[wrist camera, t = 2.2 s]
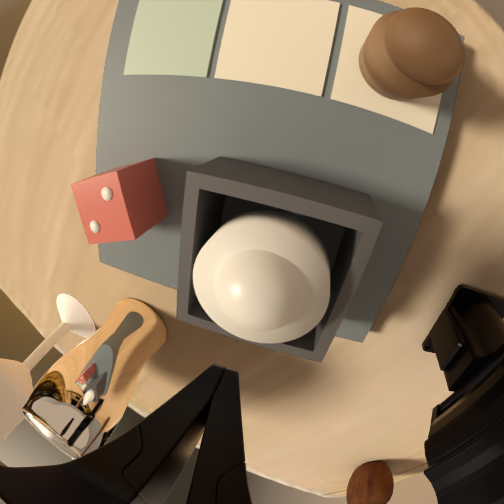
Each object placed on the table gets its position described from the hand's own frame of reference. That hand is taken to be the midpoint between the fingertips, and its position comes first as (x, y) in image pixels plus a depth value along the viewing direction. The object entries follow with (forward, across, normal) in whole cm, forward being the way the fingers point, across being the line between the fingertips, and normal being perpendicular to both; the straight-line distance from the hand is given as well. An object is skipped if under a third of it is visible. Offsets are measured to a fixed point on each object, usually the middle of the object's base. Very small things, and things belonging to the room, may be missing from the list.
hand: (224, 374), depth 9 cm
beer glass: (+12, +11, +13) cm, 21 cm away
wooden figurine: (+12, -22, +31) cm, 40 cm away
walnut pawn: (+10, -4, -12) cm, 16 cm away
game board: (+12, +3, -5) cm, 13 cm away
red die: (+10, +10, -1) cm, 15 cm away
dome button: (+8, 0, 0) cm, 8 cm away
